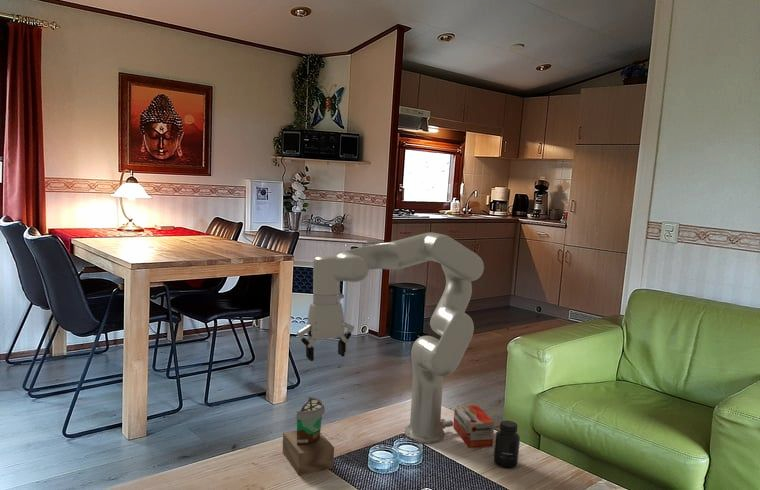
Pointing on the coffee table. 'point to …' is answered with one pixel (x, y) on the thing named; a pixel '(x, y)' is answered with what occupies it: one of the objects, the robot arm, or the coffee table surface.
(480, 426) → the medicine box
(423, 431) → the robot arm
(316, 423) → the food container
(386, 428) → the coffee table surface
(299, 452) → the block
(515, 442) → the supplement bottle
